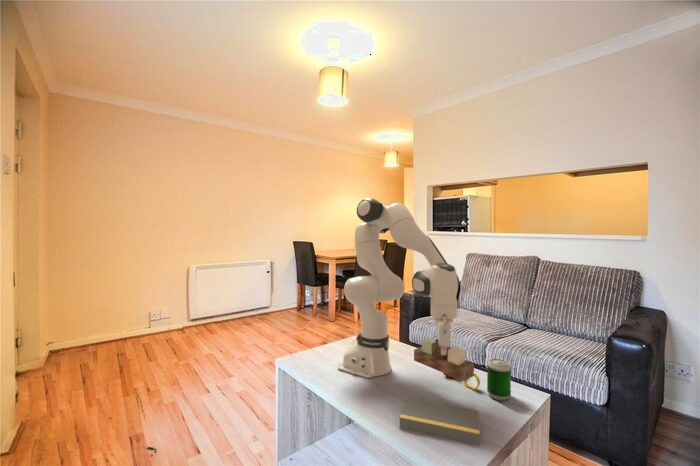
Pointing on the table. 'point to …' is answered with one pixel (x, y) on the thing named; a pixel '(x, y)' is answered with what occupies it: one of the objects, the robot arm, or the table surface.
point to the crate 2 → (456, 355)
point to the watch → (477, 382)
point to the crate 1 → (428, 346)
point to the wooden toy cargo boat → (444, 363)
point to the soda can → (499, 379)
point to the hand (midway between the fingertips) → (443, 350)
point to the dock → (441, 420)
